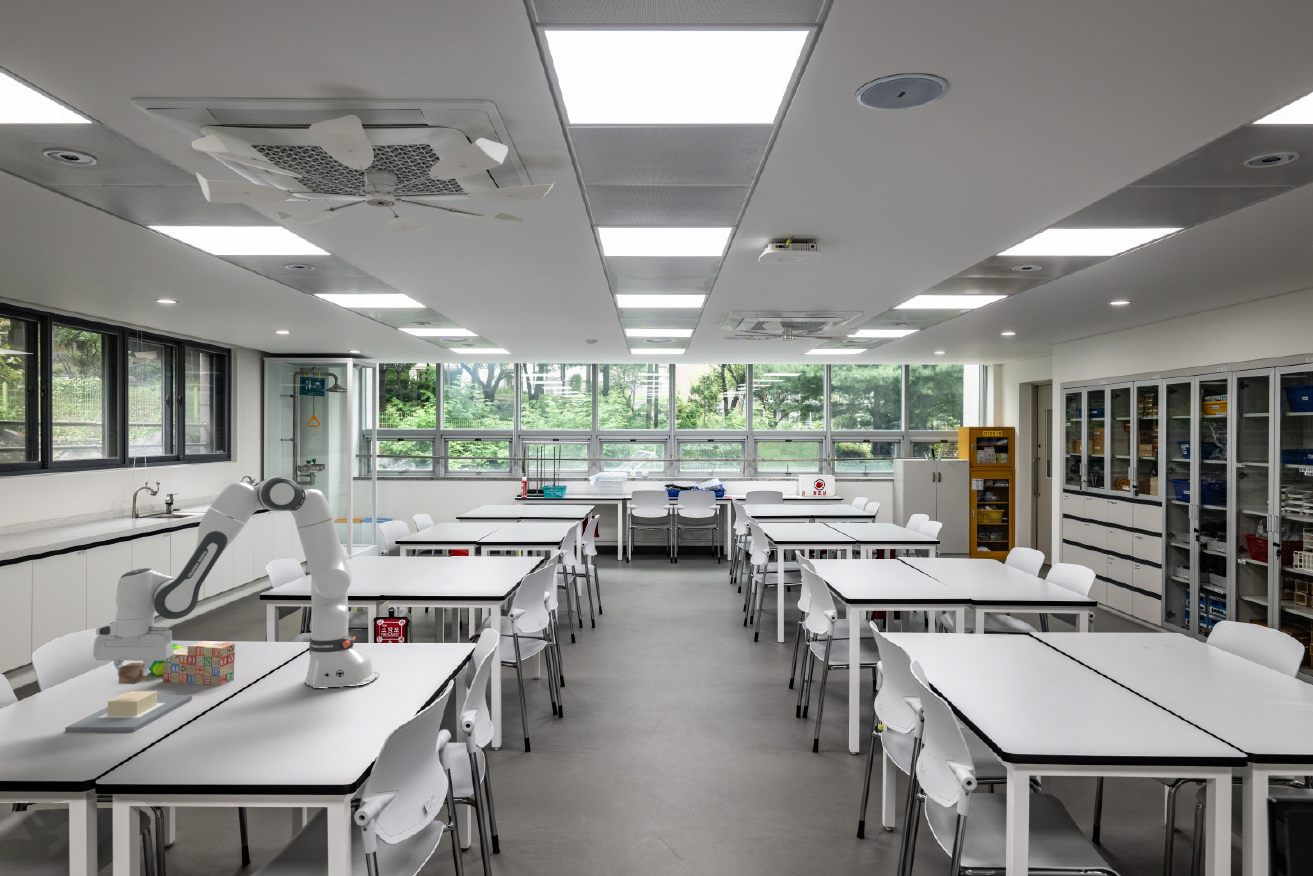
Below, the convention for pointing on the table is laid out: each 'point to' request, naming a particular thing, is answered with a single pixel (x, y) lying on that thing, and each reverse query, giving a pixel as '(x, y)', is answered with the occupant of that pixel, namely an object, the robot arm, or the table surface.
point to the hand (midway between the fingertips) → (133, 675)
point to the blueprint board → (129, 722)
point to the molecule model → (160, 664)
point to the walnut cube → (131, 673)
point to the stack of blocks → (201, 664)
